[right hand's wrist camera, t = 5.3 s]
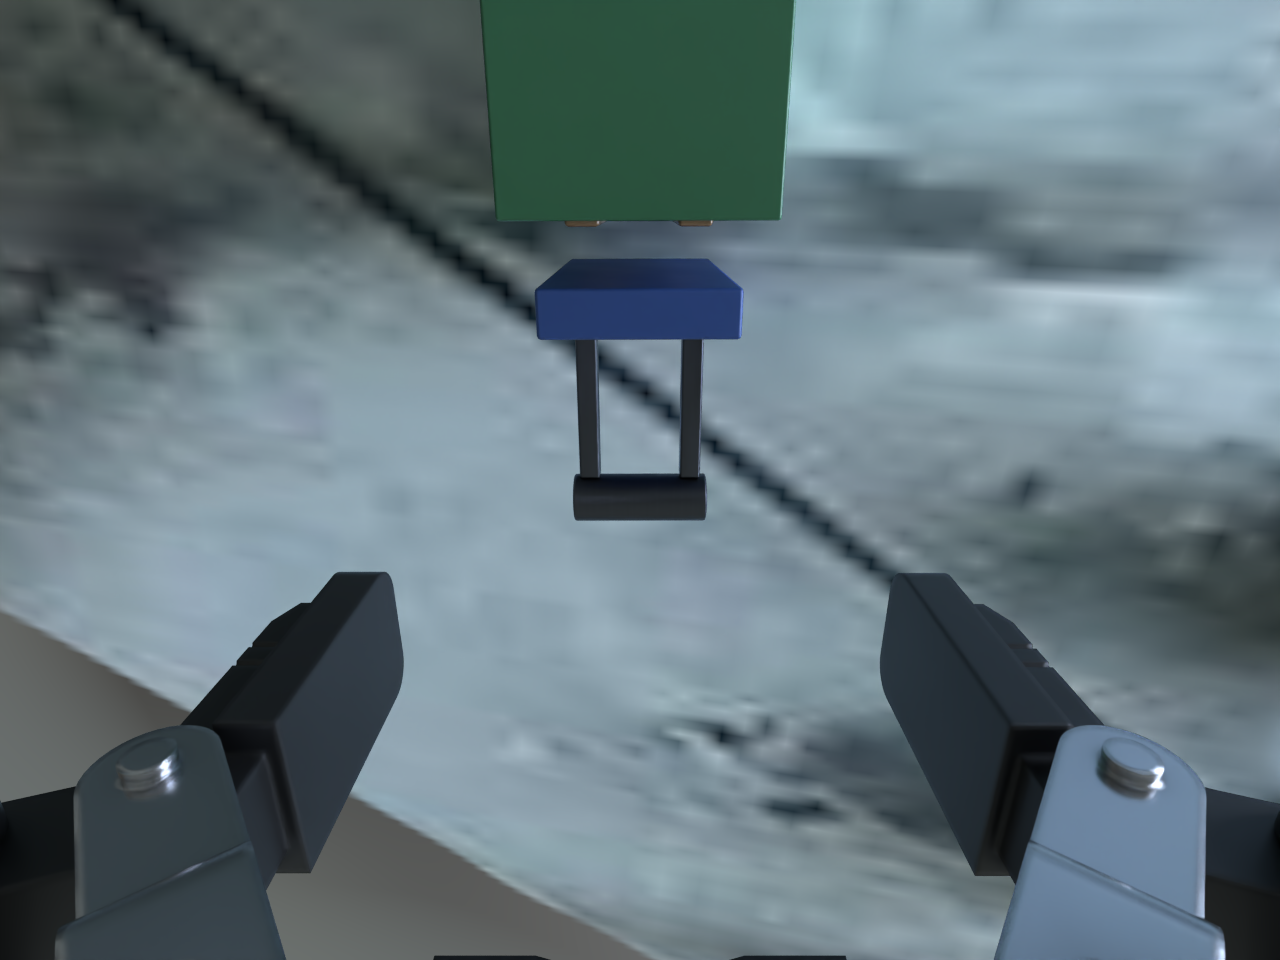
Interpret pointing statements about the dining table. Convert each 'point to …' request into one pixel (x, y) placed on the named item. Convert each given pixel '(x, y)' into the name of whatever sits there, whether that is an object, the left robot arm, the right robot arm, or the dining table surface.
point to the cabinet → (638, 108)
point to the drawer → (633, 310)
